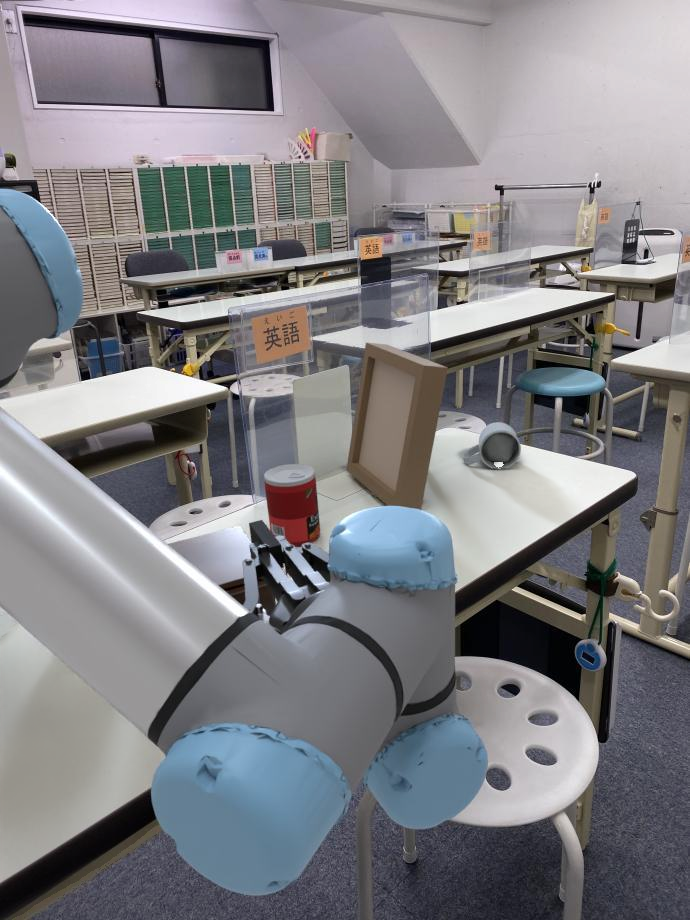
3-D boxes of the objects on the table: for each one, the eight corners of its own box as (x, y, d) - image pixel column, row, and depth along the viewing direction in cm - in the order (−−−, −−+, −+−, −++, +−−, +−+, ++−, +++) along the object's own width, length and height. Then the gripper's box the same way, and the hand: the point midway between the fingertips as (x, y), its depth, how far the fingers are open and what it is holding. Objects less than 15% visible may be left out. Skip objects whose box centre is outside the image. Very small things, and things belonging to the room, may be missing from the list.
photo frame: (397, 518, 113) (391, 371, 104) (346, 475, 132) (337, 346, 123) (474, 499, 118) (474, 356, 109) (414, 459, 137) (410, 335, 128)
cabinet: (280, 637, 85) (271, 570, 81) (187, 666, 81) (174, 597, 77) (248, 586, 97) (240, 525, 93) (166, 609, 92) (153, 547, 89)
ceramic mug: (515, 453, 136) (515, 416, 133) (520, 469, 128) (521, 430, 126) (461, 455, 137) (460, 419, 135) (463, 471, 130) (462, 433, 127)
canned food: (320, 545, 106) (314, 480, 102) (269, 549, 106) (261, 484, 102) (321, 523, 113) (315, 461, 109) (273, 526, 113) (265, 465, 109)
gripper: (270, 715, 54) (203, 577, 74) (415, 664, 58) (314, 547, 79) (259, 635, 51) (192, 515, 71) (413, 588, 56) (309, 488, 76)
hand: (256, 532), depth 75 cm, fingers closed
